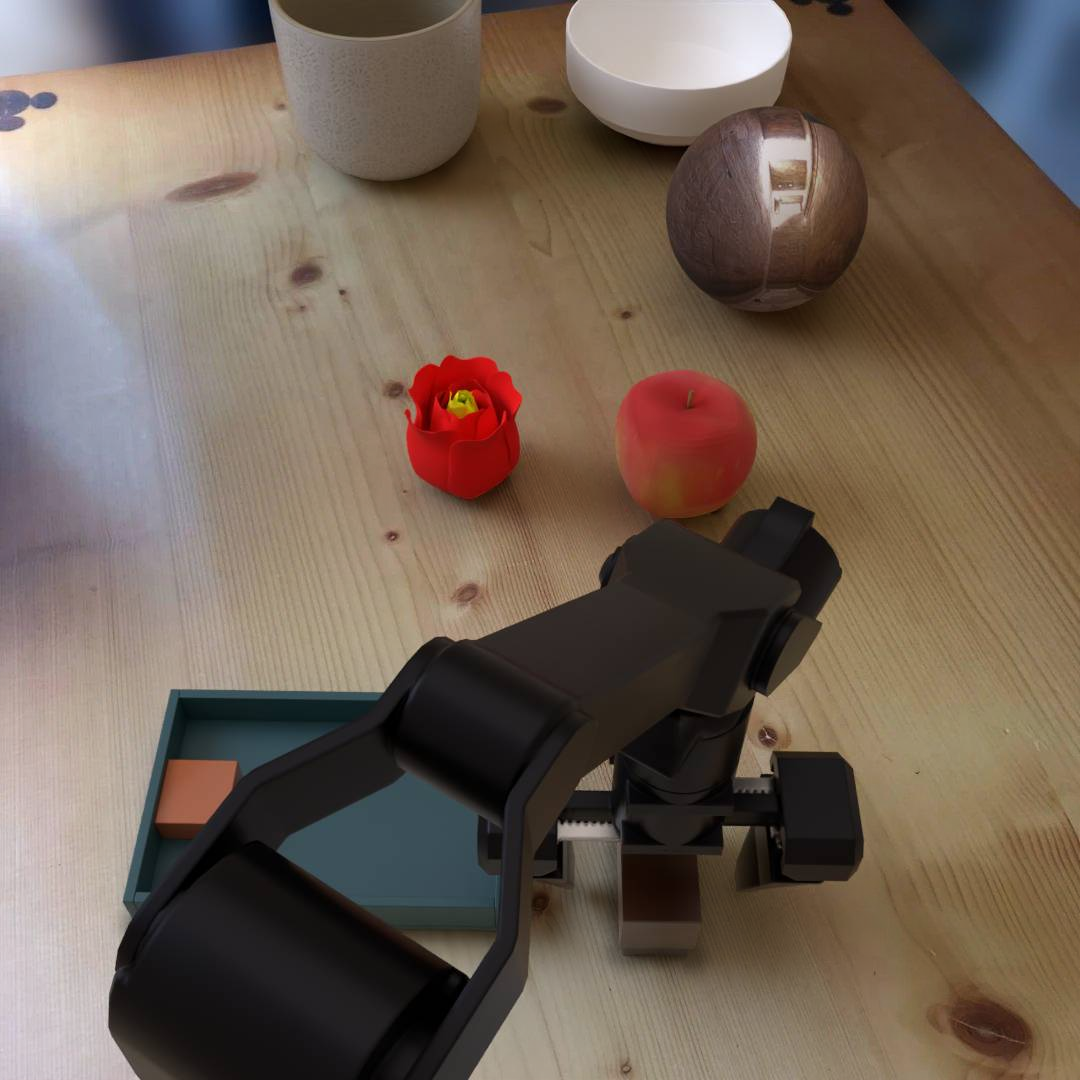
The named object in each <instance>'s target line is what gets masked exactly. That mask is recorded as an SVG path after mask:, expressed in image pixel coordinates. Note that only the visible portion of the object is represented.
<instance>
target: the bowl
mask: <svg viewBox="0 0 1080 1080" xmlns="http://www.w3.org/2000/svg"><path fill="white" fill-rule="evenodd" d="M565 21H566V24H565V61H566V77H567V80H568V84H569V88H570V90H571V91H572V93H573V95H575V97H576V98H577V100H578V101H579V102H580V103H581V104H582V105H584V106H585V107H586V108H587V109H588V111H589V112H590V114H591V115H593V117H595V118H596V119H597V120H598V121H599V122H600V123H601V124H604V125H605V126H607V127H608V128H610V129H612V131H613V130H614V131H615V132H618V133H620V134H623V135H624V136H627V137H629V138H632V139H635V140H637V141H639V142H644V143H648V144H651V145H657V146H665V147H687V146H688V147H689V146H690V145H691V144H692V143H693V142H694V141H695V140H696V139H697V138H698V137H699V136H700V135H701V134H702V133H703V132H704V131H705V130H706V129H708V128H709V127H710V126H712V125H713V124H715V123H716V122H718V121H720V120H721V119H723V118H725V117H727V116H729V115H731V114H734V113H737V112H739V111H743V110H746V109H751V108H756V107H766V106H775V103H776V102H777V100H778V98H779V96H780V95H781V92H782V88H783V84H784V81H785V76H786V74H787V73H786V72H787V68H788V65H789V58H790V53H791V47H792V43H793V32H792V25H791V23H790V21H789V19H788V17H787V15H786V13H785V11H784V10H783V9H782V8H781V7H780V6H779V5H778V4H777V3H776V2H775V1H774V0H577V1H576V2H575V3H574V4H573V5H572V7H571V9H570V11H569V13H568V15H567V18H566V20H565Z"/></svg>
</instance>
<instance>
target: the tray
mask: <svg viewBox="0 0 1080 1080" xmlns="http://www.w3.org/2000/svg"><path fill="white" fill-rule="evenodd" d="M384 692H385V691H331V690H330V691H329V690H327V691H325V690H323V691H321V690H320V691H319V690H316V691H315V690H313V691H312V690H266V689H265V690H264V689H263V690H259V689H256V690H255V689H254V690H253V689H197V688H195V689H194V688H193V689H192V688H183V689H182V688H172V689H170V690H169V695H168V700H167V704H166V709H165V714H164V717H163V721H162V722H163V723H162V726H161V730H160V734H159V740H158V744H157V748H156V752H155V758H154V761H153V766H152V769H151V773H150V779H149V783H148V788H147V792H146V796H145V800H144V805H143V810H142V813H141V819H140V823H139V827H138V831H137V836H136V840H135V845H134V849H133V853H132V858H131V862H130V868H129V871H128V876H127V880H126V885H125V888H124V893H123V897H122V903H123V905H124V908H125V909H126V910H127V912H128V914H129V915H130V917H131V918H132V919H133V917H134V916H135V914H136V913H137V911H138V910H139V908H140V907H141V905H142V904H143V902H144V901H145V899H146V898H147V897H148V895H149V894H150V893H151V892H152V890H153V889H154V888H155V887H156V885H157V884H158V883H159V881H160V880H161V879H162V878H163V876H164V875H165V874H166V873H167V871H168V870H169V869H170V868H171V866H172V865H173V864H174V863H175V861H176V860H177V859H178V857H179V856H180V855H181V854H182V852H183V851H184V850H185V849H186V847H187V846H188V845H189V844H190V842H191V841H192V840H193V839H162V837H161V835H160V833H159V831H158V829H157V827H156V825H155V823H154V822H155V818H156V813H157V809H158V804H159V800H160V795H161V791H162V786H163V782H164V777H165V773H166V768H167V764H168V760H227V761H238V763H239V766H240V769H241V772H242V774H243V777H244V776H245V775H247V774H248V773H249V772H250V771H252V770H253V769H255V768H257V767H259V766H261V765H263V764H265V763H267V762H269V761H271V760H273V759H275V758H277V757H279V756H281V755H283V754H286V753H288V752H290V751H292V750H294V749H296V748H298V747H300V746H302V745H304V744H306V743H308V742H310V741H312V740H314V739H316V738H319V737H321V736H323V735H325V734H327V733H329V732H331V731H333V730H335V729H337V728H339V727H341V726H343V725H345V724H347V723H349V722H351V721H354V720H356V719H358V718H360V717H362V716H364V715H366V714H367V713H368V712H369V711H370V710H371V709H372V707H373V706H374V705H375V703H376V702H377V701H378V699H379V698H380V697H381V695H382V694H383V693H384ZM477 828H478V814H477V813H475V812H474V811H472V810H470V809H469V808H467V807H465V806H463V805H462V804H460V803H458V802H457V801H455V800H453V799H452V798H450V797H448V796H447V795H445V794H443V793H442V792H440V791H438V790H437V789H435V788H433V787H432V786H430V785H428V784H427V783H425V782H423V781H422V780H420V779H418V778H416V777H415V776H413V775H411V774H410V773H408V772H406V773H405V774H404V775H403V776H402V777H401V778H399V779H398V780H397V781H396V782H395V783H394V784H392V785H390V786H388V787H386V788H384V789H382V790H380V791H378V792H376V793H374V794H372V795H370V796H368V797H366V798H364V799H362V800H360V801H358V802H356V803H354V804H352V805H350V806H348V807H346V808H344V809H342V810H340V811H338V812H336V813H334V814H332V815H330V816H328V817H326V818H324V819H322V820H320V821H318V822H316V823H314V824H312V825H310V826H308V827H306V828H304V829H302V830H300V831H298V832H296V833H294V834H292V835H290V836H289V837H288V838H286V840H285V841H284V842H283V844H282V845H281V846H280V847H279V849H278V850H277V851H276V852H278V853H279V854H281V855H283V856H284V857H286V858H287V859H289V860H290V861H292V862H293V863H295V864H296V865H298V866H300V867H301V868H303V869H304V870H306V871H307V872H309V873H310V874H312V875H313V876H315V877H316V878H318V879H320V880H321V881H323V882H324V883H326V884H327V885H329V886H330V887H332V888H333V889H335V890H337V891H338V892H340V893H341V894H343V895H344V896H346V897H347V898H349V899H350V900H352V901H353V902H355V903H357V904H358V905H360V906H361V907H363V908H364V909H366V910H367V911H369V912H370V913H372V914H374V915H375V916H377V917H378V918H380V919H381V920H383V921H384V922H386V923H387V924H389V925H390V926H392V927H394V928H395V929H397V930H414V931H415V930H416V931H417V930H418V931H419V930H420V931H421V930H422V931H472V932H473V931H474V932H475V931H481V932H482V931H483V932H485V931H486V932H497V924H498V907H499V891H500V875H488V874H487V873H486V872H485V871H484V870H483V869H482V868H481V867H480V866H479V865H478V856H477ZM132 919H131V920H132Z"/></svg>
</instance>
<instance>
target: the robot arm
mask: <svg viewBox="0 0 1080 1080" xmlns="http://www.w3.org/2000/svg"><path fill="white" fill-rule="evenodd" d="M815 518H816V512H815V511H813V510H811V509H809V508H806V507H805V506H802V505H800V504H798V503H796V502H793V501H791V500H789V499H786V498H785V497H782V496H780V495H777V496H776V497H775V499H774V500H773V501H772V503H771V505H769V508H756V509H751V510H748V511H746V512H744V513H742V514H739V516H738V517H737V518H736V520H735V521H734V522H733V524H732V525H731V526H730V528H729V529H728V530H727V532H726V533H725V535H724V536H723V537H722V539H721V540H720V542H717V541H715V540H713V539H711V538H709V537H707V536H704V535H702V534H700V533H699V532H697V531H694V530H692V529H691V528H689V527H685V526H684V525H682V524H679V523H677V522H676V521H673V520H671V519H670V518H663V519H660V520H658V521H655V522H654V523H652V524H651V525H649V526H647V527H646V528H645V529H643V530H642V531H640V532H639V533H637V534H632V535H631V536H630V537H628V538H627V539H626V540H625V541H624V543H622V545H621V546H620V545H618V546H617V547H616V548H615V549H614V551H613V552H612V553H610V554H609V555H608V556H607V557H606V558H605V560H604V561H603V563H602V564H601V567H600V570H599V573H598V580H599V583H600V586H599V588H598V589H595V590H592V591H590V592H588V593H586V594H583V595H581V596H578V597H576V598H573V599H571V600H569V601H566V602H563V603H562V604H559V605H556V606H554V607H552V608H549V609H547V610H545V611H542V612H540V613H537V614H535V615H533V616H530V617H528V618H525V619H523V620H520V621H518V622H515V623H513V624H511V625H507V626H506V627H503V628H501V629H499V630H496V631H494V632H491V633H489V634H487V635H484V636H481V637H479V638H477V639H470V638H469V639H468V638H463V639H459V640H454V639H452V638H450V637H448V636H434V637H433V638H431V639H430V640H428V641H426V642H425V643H423V644H422V645H421V646H419V648H418V649H417V650H416V651H415V652H414V654H413V655H412V656H411V657H410V658H409V659H408V660H407V661H406V663H405V664H404V665H403V666H402V668H401V669H400V671H398V673H397V674H396V676H395V677H394V678H393V680H392V681H391V682H390V683H389V684H388V686H387V687H386V688H385V690H384V691H383V692H384V693H383V694H382V695H381V697H380V698H379V699H378V701H377V702H376V703H375V705H374V706H373V707H372V709H371V710H370V711H369V712H368V713H367V714H366V715H364V716H362V717H360V718H358V719H356V720H354V721H351V722H349V723H347V724H345V725H343V726H341V727H339V728H337V729H335V730H333V731H331V732H329V733H327V734H325V735H323V736H321V737H319V738H316V739H314V740H312V741H310V742H308V743H306V744H304V745H302V746H300V747H298V748H296V749H294V750H292V751H290V752H288V753H286V754H283V755H281V756H279V757H277V758H275V759H273V760H271V761H269V762H267V763H265V764H263V765H261V766H259V767H257V768H255V769H253V770H252V771H250V772H249V773H248V774H247V775H245V776H244V777H243V778H242V779H240V781H239V782H238V783H237V784H236V786H235V787H234V788H233V789H232V791H231V792H230V793H229V794H228V796H227V797H226V798H225V799H224V801H223V802H222V803H221V804H220V806H219V807H218V808H217V810H216V811H215V812H214V813H213V815H212V816H211V817H210V818H209V820H208V821H207V822H206V823H205V825H204V826H203V827H202V828H201V830H200V831H199V832H198V834H197V835H196V836H195V837H194V839H193V840H192V841H191V842H190V844H189V845H188V846H187V847H186V849H185V850H184V851H183V852H182V854H181V855H180V856H179V857H178V859H177V860H176V861H175V863H174V864H173V865H172V866H171V868H170V869H169V870H168V871H167V873H166V874H165V875H164V876H163V878H162V879H161V880H160V881H159V883H158V884H157V885H156V887H155V888H154V889H153V890H152V892H151V893H150V894H149V895H148V897H147V898H146V899H145V901H144V902H143V904H142V905H141V907H140V908H139V910H138V911H137V913H136V914H135V916H134V917H133V919H130V921H129V923H128V925H127V927H126V929H125V932H124V934H123V936H122V938H121V940H120V943H119V945H118V947H117V950H116V952H117V953H116V957H115V964H114V971H115V972H114V974H113V978H112V981H111V985H110V989H109V993H108V1011H107V1012H108V1013H107V1014H108V1015H107V1018H108V1019H107V1029H108V1031H109V1034H110V1036H111V1038H112V1039H113V1041H114V1042H115V1044H116V1046H117V1047H118V1049H119V1050H120V1052H121V1054H122V1056H123V1057H124V1059H125V1060H126V1061H127V1063H128V1065H129V1066H130V1068H131V1069H132V1071H133V1073H134V1074H135V1076H136V1077H137V1078H138V1079H139V1080H470V1078H471V1076H472V1075H473V1073H474V1071H475V1070H476V1068H477V1067H478V1065H479V1063H480V1062H481V1060H482V1058H483V1056H484V1055H485V1053H486V1052H487V1050H488V1048H489V1047H490V1045H491V1044H492V1042H493V1041H494V1039H495V1037H496V1036H497V1034H498V1032H499V1031H500V1029H501V1028H502V1026H503V1024H504V1023H505V1021H506V1020H507V1018H508V1017H509V1015H510V1013H511V1011H512V1010H513V1009H514V1006H515V1005H516V1003H517V1002H518V1000H519V999H520V997H521V995H522V994H523V992H524V991H525V990H524V989H525V987H526V983H527V981H528V978H529V967H530V966H529V965H530V944H531V943H530V942H531V922H532V921H531V919H532V899H533V897H532V896H533V882H534V883H540V884H545V885H549V886H553V887H557V888H561V889H564V890H568V891H574V890H575V888H576V855H575V849H574V844H573V842H595V843H596V842H601V843H603V842H604V843H606V842H607V843H617V842H621V854H661V855H697V856H723V850H724V847H725V844H724V843H725V842H724V830H723V827H749V829H748V831H747V833H746V835H745V838H744V840H743V843H742V846H741V848H740V851H739V853H738V856H737V858H736V862H735V867H734V875H733V877H734V879H733V880H734V889H735V893H737V894H738V893H739V894H743V893H749V892H756V891H757V892H758V891H763V890H764V891H765V890H772V889H778V888H789V887H797V886H806V885H807V886H809V885H821V884H823V883H825V882H848V881H849V880H850V879H851V878H852V877H853V876H854V875H855V874H856V873H857V872H858V870H859V867H860V866H861V863H862V860H863V858H864V853H865V852H864V850H865V849H864V848H865V838H864V837H865V836H864V830H863V825H862V818H861V810H860V805H859V799H858V798H859V797H858V791H857V785H856V778H855V771H854V767H852V765H851V763H849V762H848V761H847V760H846V759H845V758H844V757H843V755H842V754H841V753H840V752H839V751H807V750H804V751H803V750H800V751H799V750H794V751H793V750H772V751H771V754H770V758H769V770H770V772H771V773H760V775H759V777H757V776H756V777H753V776H752V777H751V776H748V777H747V776H737V772H738V769H739V763H740V759H741V756H742V751H743V747H744V743H745V740H746V736H747V735H746V734H747V731H748V727H749V723H750V720H751V719H750V718H751V715H752V711H753V707H754V702H755V699H756V694H757V693H758V694H759V695H761V696H764V697H766V698H767V697H769V696H770V695H772V693H774V691H775V690H776V689H778V687H779V686H780V685H782V683H783V682H784V681H785V680H786V679H787V678H788V677H789V676H790V675H791V674H793V672H794V671H795V670H796V669H797V668H798V667H799V666H800V664H801V663H802V662H803V659H804V658H805V656H806V655H807V653H808V651H809V650H810V648H811V647H812V645H813V643H814V641H816V639H817V637H818V635H819V634H820V631H821V629H822V627H823V622H822V621H820V620H817V618H818V616H819V615H820V613H821V612H822V611H823V608H824V607H825V605H826V603H827V602H828V601H829V599H830V597H831V595H832V594H833V592H834V591H835V590H836V588H837V586H838V585H839V583H840V581H841V579H842V576H843V568H842V567H841V565H840V560H839V558H838V556H837V554H836V551H835V550H834V548H833V547H832V546H831V544H830V542H829V541H828V540H827V538H826V537H824V536H823V535H822V534H821V533H820V532H819V531H818V530H817V529H816V528H815V527H813V525H814V521H815ZM607 761H608V765H609V766H613V769H612V777H611V789H610V790H597V789H596V790H593V789H592V790H591V789H588V790H587V789H577V788H578V786H579V784H580V782H581V780H582V779H583V778H585V777H586V776H587V775H588V774H590V773H591V772H593V771H594V770H596V769H597V768H598V767H600V766H602V764H604V763H605V762H607ZM406 772H408V773H410V774H411V775H413V776H415V777H416V778H418V779H420V780H422V781H423V782H425V783H427V784H428V785H430V786H432V787H433V788H435V789H437V790H438V791H440V792H442V793H443V794H445V795H447V796H448V797H450V798H452V799H453V800H455V801H457V802H458V803H460V804H462V805H463V806H465V807H467V808H469V809H470V810H472V811H474V812H475V813H477V814H478V828H477V856H478V865H479V866H480V867H481V868H482V869H483V870H484V871H485V872H486V873H487V874H488V875H500V891H499V907H498V924H497V931H496V936H495V939H494V941H493V942H492V944H491V945H490V947H489V949H488V950H487V952H486V953H485V955H484V957H483V958H482V959H481V961H480V963H479V964H478V965H477V967H476V969H475V971H473V973H472V975H471V977H470V976H468V974H466V973H464V972H463V971H461V970H460V969H459V968H457V967H456V966H454V965H452V964H451V963H450V962H448V961H447V960H445V959H443V958H442V957H440V956H438V955H437V954H435V953H433V952H432V951H431V950H429V949H428V948H426V947H424V946H423V945H422V944H420V943H418V942H417V941H415V940H414V939H413V938H411V937H409V936H407V935H406V934H404V933H403V932H402V931H400V930H399V929H395V928H394V927H392V926H390V925H389V924H387V923H386V922H384V921H383V920H381V919H380V918H378V917H377V916H375V915H374V914H372V913H370V912H369V911H367V910H366V909H364V908H363V907H361V906H360V905H358V904H357V903H355V902H353V901H352V900H350V899H349V898H347V897H346V896H344V895H343V894H341V893H340V892H338V891H337V890H335V889H333V888H332V887H330V886H329V885H327V884H326V883H324V882H323V881H321V880H320V879H318V878H316V877H315V876H313V875H312V874H310V873H309V872H307V871H306V870H304V869H303V868H301V867H300V866H298V865H296V864H295V863H293V862H292V861H290V860H289V859H287V858H286V857H284V856H283V855H281V854H279V853H278V852H276V851H277V850H278V849H279V847H280V846H281V845H282V844H283V842H284V841H285V840H286V838H288V837H289V836H290V835H292V834H294V833H296V832H298V831H300V830H302V829H304V828H306V827H308V826H310V825H312V824H314V823H316V822H318V821H320V820H322V819H324V818H326V817H328V816H330V815H332V814H334V813H336V812H338V811H340V810H342V809H344V808H346V807H348V806H350V805H352V804H354V803H356V802H358V801H360V800H362V799H364V798H366V797H368V796H370V795H372V794H374V793H376V792H378V791H380V790H382V789H384V788H386V787H388V786H390V785H392V784H394V783H395V782H396V781H397V780H398V779H399V778H401V777H402V776H403V775H404V774H405V773H406Z"/></svg>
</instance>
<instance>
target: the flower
mask: <svg viewBox="0 0 1080 1080" xmlns="http://www.w3.org/2000/svg"><path fill="white" fill-rule="evenodd" d="M407 392H408V394H409V395H408V396H410V398H411V400H412V402H413V404H414V407H415V410H416V411H415V417H414V421H413V420H412V415H411V413H412V412H411V410H410V409H409V408H405V410H404V415H405V418H406V420H407V422H408V423H407V427H406V433H405V434H406V435H405V438H406V439H405V441H406V448H407V449H406V450H407V454H408V459H409V462H410V464H411V468H412V469H413V471H414V473H415V474H416V475H417V476H418V477H419V478H420V479H421V480H423V481H424V482H426V483H427V484H429V485H431V486H432V487H434V488H436V489H438V490H441V491H443V492H445V493H448V494H451V495H452V496H455V497H457V498H461V499H464V500H473V499H476V498H478V497H480V496H482V495H484V494H486V493H488V492H490V491H491V490H493V489H494V488H495V487H496V486H498V485H499V484H501V483H502V482H503V481H504V480H505V479H506V478H507V477H508V476H509V475H510V474H511V473H512V472H513V471H514V469H516V466H517V465H518V463H519V461H520V458H521V442H520V441H521V440H520V433H519V428H518V425H517V421H516V417H517V413H518V411H519V409H520V407H521V406H522V402H523V395H522V394H521V393H520V392H519V391H518V389H516V388H515V386H514V383H513V379H512V376H511V374H510V373H509V372H507V371H504V370H499V368H498V364H497V363H496V361H495V360H494V359H492V358H490V357H487V356H474V357H471V358H467V359H466V358H465V359H464V358H459V357H457V356H455V355H453V354H448V355H446V356H445V357H444V358H443V359H442V360H441V363H440V364H439V365H437V364H434V363H427V364H425V365H423V366H422V367H420V368H419V370H418V371H416V373H415V375H414V377H413V381H412V386H411V387H410V388H408V389H407Z"/></svg>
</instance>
